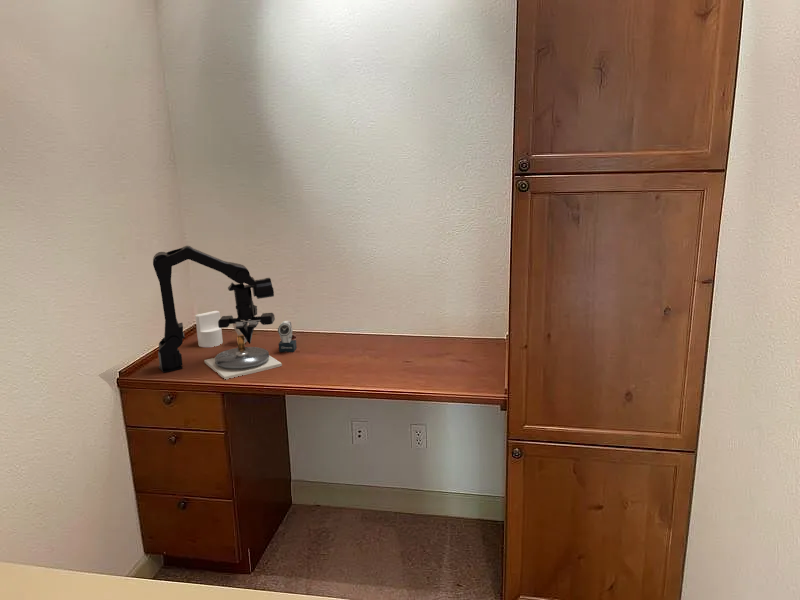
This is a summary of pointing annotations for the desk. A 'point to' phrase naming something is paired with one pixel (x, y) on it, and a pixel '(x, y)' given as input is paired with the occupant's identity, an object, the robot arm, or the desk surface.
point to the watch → (286, 337)
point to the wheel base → (233, 373)
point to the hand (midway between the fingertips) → (249, 343)
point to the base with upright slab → (208, 329)
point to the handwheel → (241, 356)
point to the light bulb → (239, 331)
